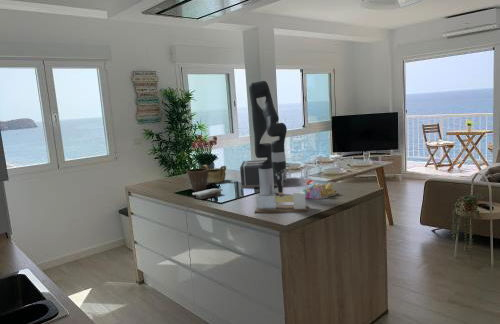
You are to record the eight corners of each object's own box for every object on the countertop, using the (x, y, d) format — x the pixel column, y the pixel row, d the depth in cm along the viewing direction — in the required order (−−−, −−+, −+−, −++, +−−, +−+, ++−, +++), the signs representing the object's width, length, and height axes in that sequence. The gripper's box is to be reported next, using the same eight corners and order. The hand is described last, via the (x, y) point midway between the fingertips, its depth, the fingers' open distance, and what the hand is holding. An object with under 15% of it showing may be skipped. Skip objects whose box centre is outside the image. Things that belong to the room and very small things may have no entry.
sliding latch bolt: (270, 201, 219) (268, 180, 218) (300, 200, 216) (299, 179, 215) (269, 202, 216) (267, 182, 215) (300, 201, 213) (299, 180, 212)
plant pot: (209, 193, 278) (207, 170, 276) (187, 194, 278) (185, 172, 276) (211, 189, 293) (209, 167, 291) (190, 190, 293) (188, 169, 291)
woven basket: (197, 185, 313) (196, 166, 311) (211, 181, 327) (210, 163, 325) (219, 186, 300) (218, 167, 298) (233, 182, 314) (231, 163, 312)
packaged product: (223, 195, 265) (215, 195, 272) (222, 188, 264) (214, 188, 272) (200, 201, 253) (192, 200, 261) (199, 193, 253) (191, 192, 261)
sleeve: (258, 207, 222) (257, 194, 221) (276, 207, 220) (275, 193, 219) (257, 209, 217) (256, 196, 216) (275, 209, 215) (274, 195, 214)
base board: (258, 207, 226) (258, 206, 226) (307, 206, 220) (307, 204, 220) (254, 213, 214) (254, 211, 214) (307, 211, 209) (307, 210, 209)
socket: (294, 206, 219) (293, 192, 218) (305, 205, 218) (304, 191, 217) (294, 209, 213) (293, 194, 212) (305, 208, 212) (304, 194, 211)
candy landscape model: (342, 192, 251) (342, 178, 249) (328, 201, 231) (327, 185, 230) (306, 190, 265) (305, 177, 263) (290, 198, 245) (289, 184, 244)
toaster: (291, 186, 279) (290, 162, 277) (241, 190, 281) (239, 165, 279) (289, 179, 309) (288, 157, 307) (243, 182, 311) (242, 160, 309)
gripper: (273, 159, 221) (275, 189, 223) (270, 162, 208) (272, 194, 210) (286, 158, 220) (288, 188, 222) (284, 161, 206) (286, 194, 208)
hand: (280, 191), depth 216 cm, fingers closed on sliding latch bolt, 3 cm apart
